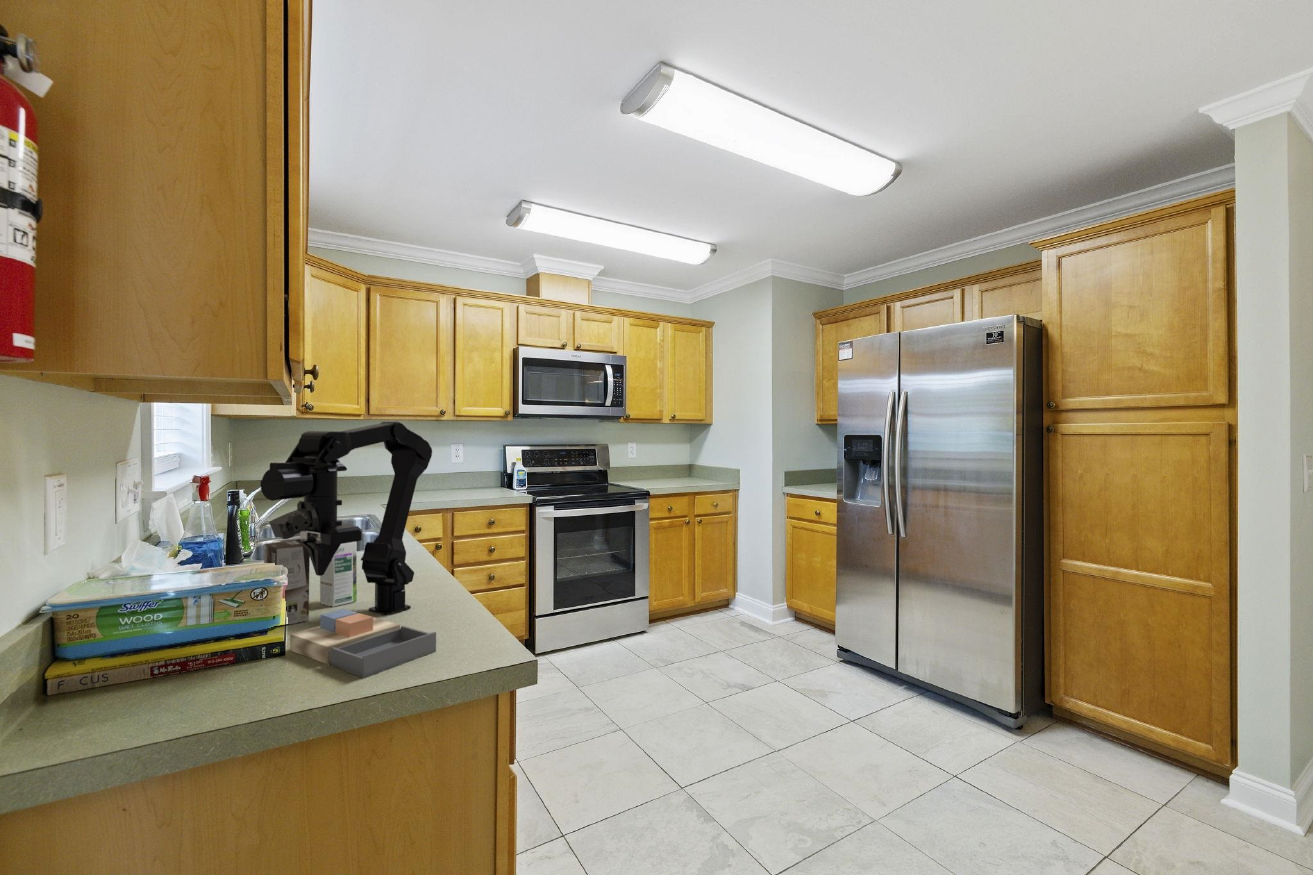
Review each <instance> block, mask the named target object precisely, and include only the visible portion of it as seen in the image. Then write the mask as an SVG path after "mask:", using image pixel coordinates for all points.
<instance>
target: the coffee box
mask: <svg viewBox="0 0 1313 875" xmlns="http://www.w3.org/2000/svg"><path fill="white" fill-rule="evenodd" d="M296 540H297V539H291V540H282V541H277V542H270V543H264V544H263V556H264V557H263V561H264V562H263V564H264V563H275V565H283V566H284V567H286V568H287V569H288V574H287V577H288V585H287V586H286V589H285V601H286V611H287V617H288V624H289V625H293V624H299V623H298V622H300V623H304V622H303V621H306V622H308V621H309V619H310V615H309V614H310V566H311V565H310V564H311V563H310V561H311V558H310V556H309V553H308V551H307V549H306V548H305V547H304V546H303V545H301V544H300V543H297V542H296ZM307 620H308V621H307Z"/></svg>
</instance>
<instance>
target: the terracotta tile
mask: <svg viewBox="0 0 1313 875" xmlns="http://www.w3.org/2000/svg"><path fill="white" fill-rule="evenodd" d="M373 617H374V616H370V615H367V614H363V613H360V612H359V613H358V612H357V614H354V615H350V616H346V617H342V618H339V619H336V631H335V633H337V634H341V635H344V636H347V637H353V636H357V635H360V634H363V633H366V632H370V631H373Z"/></svg>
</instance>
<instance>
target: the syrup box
mask: <svg viewBox="0 0 1313 875" xmlns="http://www.w3.org/2000/svg"><path fill="white" fill-rule="evenodd" d="M357 548H358V547H357V541H356V542H350V543H343V544H341V545H340V546H339V548H338V549H337V551H336V553H335V554H334V556H333V558H332V560H331V562H330V564H329V566H328V568H327V570H326V571H325V573H324V575H321V576H319V602H320V604H322V603H323V604H322V605H324V604H326V605H325V606H327V605H328V607H330V606H332V607H331V608H335V606H336V607H338V606H342V605H346V604H351V603H356V602H357V597H358V596H357V594H358V592H357V590H358V589H357V588H358V587H357V575H358V574H357V564H358V562H357V554H358V553H357V552H358V551H357Z"/></svg>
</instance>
